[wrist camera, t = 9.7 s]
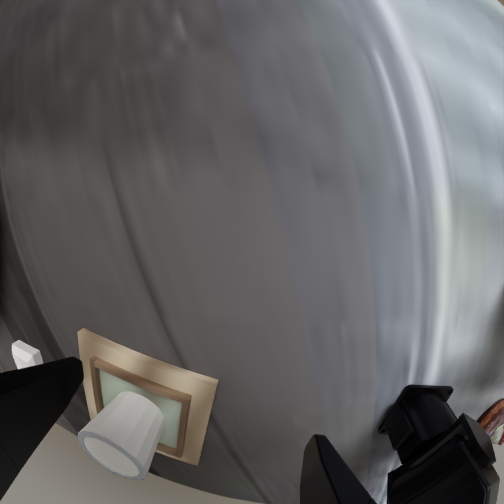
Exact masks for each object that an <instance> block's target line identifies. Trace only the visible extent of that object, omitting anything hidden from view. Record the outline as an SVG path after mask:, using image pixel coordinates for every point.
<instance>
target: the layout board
mask: <svg viewBox="0 0 504 504" xmlns="http://www.w3.org/2000/svg"><path fill="white" fill-rule="evenodd" d="M78 342H79V352H80V360H81V361H82V363H83V370H84V380H83V382H84V388H85V394H86V399H87V404H88V409H89V414H90V418H91V420H92V419H93V418H94V417H95V416H96V415H97V414H98V413H99V412H100V411H101V410H102V409H103V408H105V407H106V406H107V405H108V404H109V403H110V402H111V401H112V400H113V399H114V398H115V397H116V396H117V395H118V394H120V393H121V392H133V393H136V394H140V395H142V396H143V397H145V398H147V399H149V400H150V401H152V402H153V403H154V404H155V405H156V406H157V407H158V408H159V409H160V411H161V412H162V414H163V415H164V419H165V425H164V428H163V431H162V433H161V436H160V439H159V442H158V445H157V447H156V450H155V452H158V453H160V454H163V455H166V456H168V457H171V458H174V459H177V460H180V461H183V462H186V463H190V464H193V465H196V466H198V463H199V460H200V456H201V452H202V448H203V444H204V440H205V435H206V431H207V427H208V423H209V419H210V415H211V410H212V406H213V402H214V398H215V394H216V390H217V385H218V381H219V380H218V379H215V378H211V377H208V376H204V375H201V374H198V373H195V372H192V371H188V370H185V369H182V368H179V367H176V366H174V365H171V364H168V363H165V362H162V361H160V360H157V359H154V358H152V357H149V356H146V355H144V354H141V353H139V352H136V351H134V350H131V349H129V348H127V347H124V346H122V345H120V344H117V343H115V342H113V341H110V340H108V339H106V338H104V337H102V336H99V335H97V334H95V333H93V332H91V331H89V330H87V329H85V328H83V329H81V330H80V331H78Z"/></svg>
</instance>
